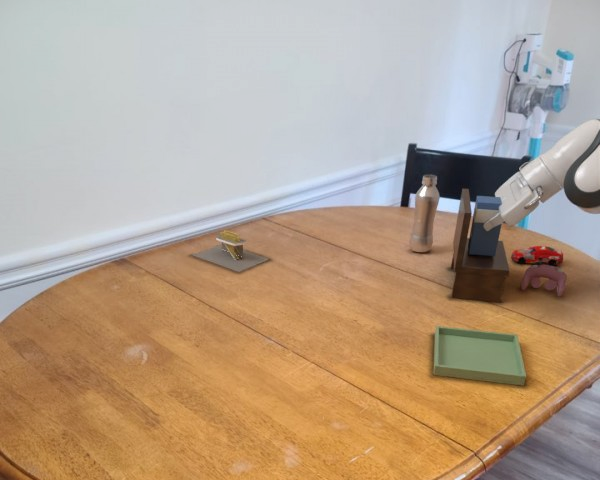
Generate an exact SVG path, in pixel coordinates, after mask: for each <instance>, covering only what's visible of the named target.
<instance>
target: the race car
mask: <svg viewBox="0 0 600 480" xmlns="http://www.w3.org/2000/svg"><path fill="white" fill-rule="evenodd" d="M510 258H511V260H512V261H514V262H517V263H518V264H519V265H523V264H533V265H550V266H554V267H555V265H562V264H563V263H564V253H563V251H561V250H559V249H555V248H554V247H551V246H545V245H535V246H532V247H531V246H530V247H529V248H520V249H516V250H514V251H512V253H511V255H510Z"/></svg>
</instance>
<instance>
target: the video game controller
mask: <svg viewBox="0 0 600 480" xmlns="http://www.w3.org/2000/svg"><path fill="white" fill-rule="evenodd" d="M541 278H545V279H548V280H547V281H546V282H545V284H544V288H545V289H546V290H547V291H553V290H554V289H555V288H556V287H557V289H556V290H557V292H556V293H557V297H562V295H563V293H564V292H565V289H566V285H567V278H568V277H567V273H566V272H565V271H564V270H563V269H561V268H560V267H557V266H555V265H554V266H550V265H549V264H533V265H530V266H528V267H527V268H526V269H525V271H524V273H523V275H522V278H521V283H520V290H521V291H525V290H526V289H527V288H528V285H529V282H530V284H531V287H532V288H534V289H537V288H540V287H541V286H542V280H541Z"/></svg>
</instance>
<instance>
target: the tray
mask: <svg viewBox="0 0 600 480" xmlns="http://www.w3.org/2000/svg"><path fill="white" fill-rule="evenodd" d="M433 346H434V349H433V376H440V377H447V378H457V379H465V380H473V381H481V382H482V381H483V382H489V383H498V384H508V385H515V386H525V383H526V379H527V374H526V368H525V364H524V358H523V354H522V349H521V345H520V341H519V337H518V334H516V333H515V334H514V333H507V332H496V331H488V330H477V329H469V328H459V327H451V326H441V325H435V331H434V345H433Z"/></svg>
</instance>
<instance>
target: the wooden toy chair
mask: <svg viewBox="0 0 600 480" xmlns="http://www.w3.org/2000/svg"><path fill="white" fill-rule="evenodd" d="M471 205H472V204H471V196H470V189H469V188H461V194H460V201H459V206H458V212H457V218H456V224H455V230H454V235H453V241H452V247H453V248H452V251H453V254H452V260H451V265H450V269H451V270H453V273H455V274H454V280H453V285H452V291H451V299H458V300H470V301H478V302H479V301H480V302H488V303H489V302H490V303H498V304H499V303H501V300H502V295H503V292H504V286H505V283H506V278H507V277H509V276H510V273H511V272H510V271H511V270H510V265H509V262H508V258H507V254H506V249H505V245H504V241H503V240H498V244H497V249H496V254H495V256H486V255H473V254H469V252H468V243H469V237H468V235H469V230H470V224H471V219H472V216H473V214H472V213H473V212H472V206H471Z"/></svg>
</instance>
